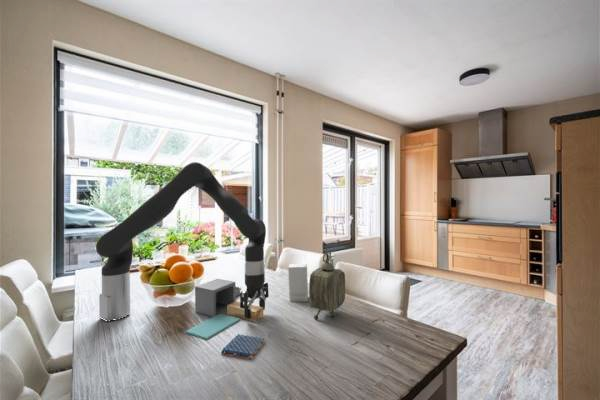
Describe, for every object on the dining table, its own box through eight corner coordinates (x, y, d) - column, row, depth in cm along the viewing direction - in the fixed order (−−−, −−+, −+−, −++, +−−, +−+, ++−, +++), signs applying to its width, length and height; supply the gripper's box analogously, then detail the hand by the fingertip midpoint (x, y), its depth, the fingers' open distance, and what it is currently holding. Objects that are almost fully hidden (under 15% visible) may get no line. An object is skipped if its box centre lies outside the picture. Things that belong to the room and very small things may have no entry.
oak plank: (255, 322, 100) (255, 312, 100) (227, 315, 106) (227, 305, 106) (263, 317, 104) (263, 307, 104) (235, 311, 111) (235, 301, 111)
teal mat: (206, 339, 87) (206, 337, 87) (186, 332, 92) (186, 330, 92) (240, 320, 101) (240, 318, 101) (220, 315, 106) (220, 313, 106)
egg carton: (229, 301, 122) (229, 292, 122) (216, 299, 124) (216, 290, 124) (243, 293, 132) (243, 285, 132) (230, 291, 134) (230, 283, 134)
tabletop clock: (326, 307, 113) (325, 247, 113) (346, 311, 108) (345, 249, 108) (309, 320, 100) (308, 253, 100) (331, 326, 96) (330, 255, 96)
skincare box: (308, 297, 125) (307, 263, 125) (307, 302, 118) (306, 266, 119) (290, 296, 126) (290, 263, 126) (288, 301, 119) (288, 266, 119)
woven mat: (266, 342, 86) (266, 336, 86) (251, 362, 76) (251, 354, 76) (237, 338, 89) (237, 332, 89) (219, 356, 78) (219, 349, 79)
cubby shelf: (213, 316, 105) (213, 290, 105) (195, 311, 110) (195, 286, 110) (235, 305, 116) (235, 281, 116) (218, 301, 121) (217, 278, 121)
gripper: (258, 266, 111) (258, 306, 111) (234, 275, 98) (234, 319, 98) (273, 268, 107) (273, 309, 107) (250, 277, 95) (250, 323, 95)
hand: (255, 314), depth 103 cm, fingers open, 8 cm apart
